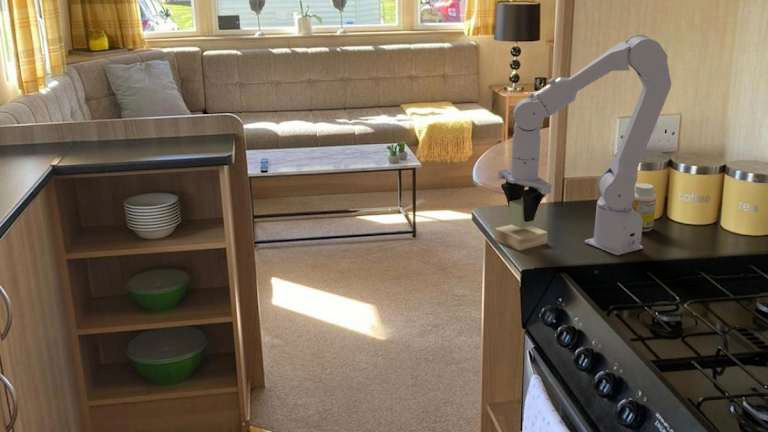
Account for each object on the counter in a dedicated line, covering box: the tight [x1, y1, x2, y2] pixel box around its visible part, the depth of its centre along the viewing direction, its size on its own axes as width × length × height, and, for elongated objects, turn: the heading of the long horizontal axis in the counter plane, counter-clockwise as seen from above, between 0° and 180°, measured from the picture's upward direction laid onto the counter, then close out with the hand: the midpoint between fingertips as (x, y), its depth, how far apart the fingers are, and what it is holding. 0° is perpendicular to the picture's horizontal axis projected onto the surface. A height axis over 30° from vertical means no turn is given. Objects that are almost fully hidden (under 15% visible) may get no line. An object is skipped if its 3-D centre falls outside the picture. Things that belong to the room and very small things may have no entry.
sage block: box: [508, 198, 536, 228], centre depth 170 cm, size 4×4×5 cm
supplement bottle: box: [632, 182, 657, 233], centre depth 179 cm, size 6×6×10 cm
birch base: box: [493, 224, 548, 252], centre depth 172 cm, size 8×8×3 cm
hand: (521, 217), depth 171 cm, fingers closed on sage block, 4 cm apart
